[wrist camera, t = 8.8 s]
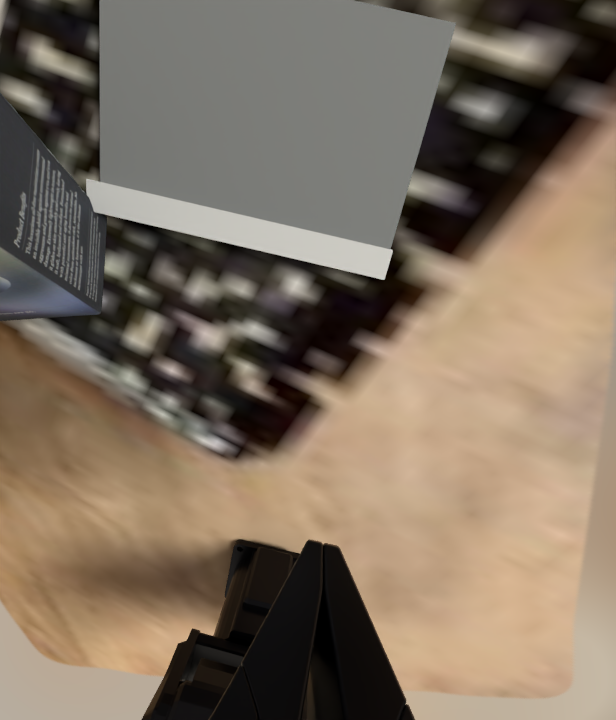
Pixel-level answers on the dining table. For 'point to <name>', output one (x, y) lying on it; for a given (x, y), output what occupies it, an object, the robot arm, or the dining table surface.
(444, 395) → the dining table surface
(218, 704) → the robot arm
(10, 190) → the small box
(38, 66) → the dining table surface
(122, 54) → the mat
